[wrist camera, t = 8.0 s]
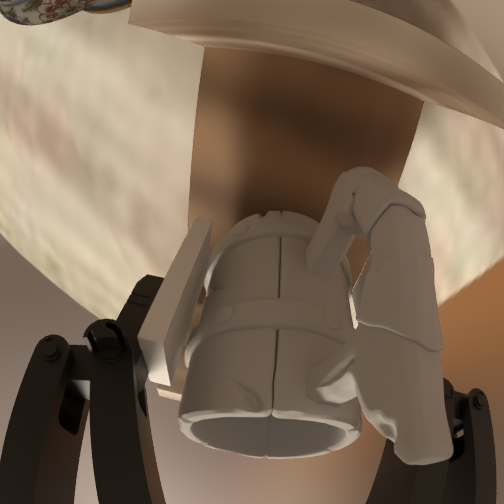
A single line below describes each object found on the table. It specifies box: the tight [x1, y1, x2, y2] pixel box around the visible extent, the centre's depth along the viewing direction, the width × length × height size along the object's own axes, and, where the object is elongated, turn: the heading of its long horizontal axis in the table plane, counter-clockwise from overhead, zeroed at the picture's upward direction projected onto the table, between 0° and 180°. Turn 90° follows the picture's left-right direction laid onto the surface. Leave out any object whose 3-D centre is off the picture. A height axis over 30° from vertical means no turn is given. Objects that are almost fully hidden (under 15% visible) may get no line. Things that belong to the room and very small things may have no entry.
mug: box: [178, 167, 453, 465], centre depth 10 cm, size 8×12×12 cm, turn 155°
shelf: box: [128, 0, 504, 401], centre depth 14 cm, size 26×12×10 cm, turn 171°
